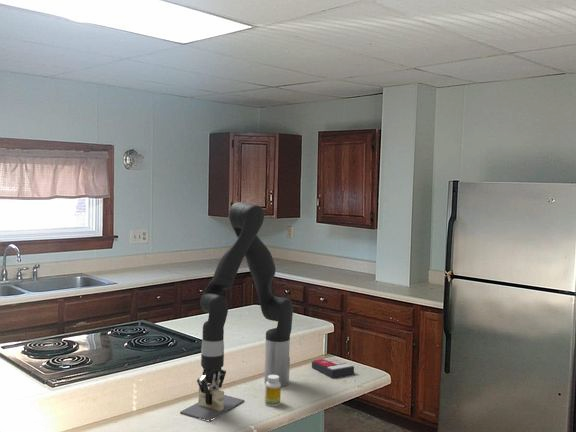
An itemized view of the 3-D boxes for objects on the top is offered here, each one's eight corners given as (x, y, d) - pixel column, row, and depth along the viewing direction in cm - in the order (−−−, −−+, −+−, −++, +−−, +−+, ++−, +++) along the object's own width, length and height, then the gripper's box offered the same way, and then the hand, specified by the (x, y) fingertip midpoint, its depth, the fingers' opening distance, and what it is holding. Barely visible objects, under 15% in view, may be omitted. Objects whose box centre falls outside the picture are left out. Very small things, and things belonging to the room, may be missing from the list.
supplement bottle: (262, 401, 198) (263, 374, 198) (276, 399, 200) (277, 373, 200) (268, 407, 193) (269, 379, 193) (282, 405, 196) (283, 378, 195)
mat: (216, 394, 204) (216, 392, 204) (244, 401, 198) (244, 400, 198) (180, 413, 186) (180, 411, 186) (209, 421, 180) (209, 420, 180)
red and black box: (332, 356, 242) (354, 364, 230) (332, 366, 242) (354, 375, 230) (311, 359, 237) (332, 368, 224) (311, 370, 237) (332, 379, 224)
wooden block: (223, 408, 190) (224, 391, 189) (220, 411, 188) (220, 393, 187) (202, 403, 194) (202, 385, 194) (198, 405, 192) (198, 387, 192)
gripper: (209, 359, 182) (207, 412, 183) (233, 349, 194) (232, 399, 195) (190, 355, 186) (189, 407, 187) (215, 345, 198) (214, 394, 199)
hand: (211, 402), depth 191 cm, fingers closed on wooden block, 2 cm apart
